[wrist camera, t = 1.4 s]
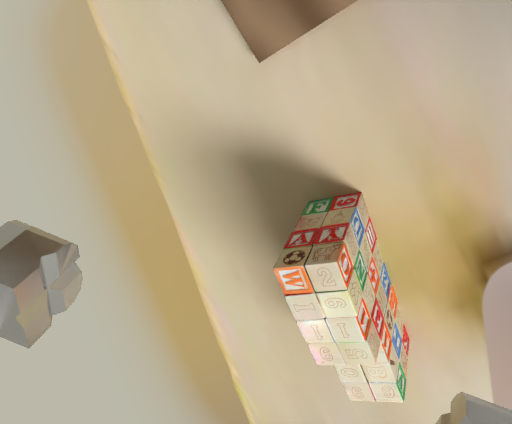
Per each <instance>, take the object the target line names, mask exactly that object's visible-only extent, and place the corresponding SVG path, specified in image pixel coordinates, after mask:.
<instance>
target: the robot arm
mask: <svg viewBox="0 0 512 424" xmlns="http://www.w3.org/2000/svg"><path fill="white" fill-rule="evenodd" d="M79 257H80V255H79V250H78V246H77V245H76V244H74V243H71V242H69V241H67V240H64V239H62V238H59V237H57V236H55V235H52V234H50V233H47V232H45V231H43V230H40V229H38V228H35V227H33V226H30V225H28V224H25V223H23V222H20V221H18V220H13V221H9V222H7V223H5V224H4V225H2V226H1V227H0V337H2V338H5V339H7V340H9V341H12V342H14V343H17V344H20V345H22V346H24V347H27V348H30V347H31V346H32V345H33V344H34V343H35V342H36V341H37V340H38V338H40V337H41V336H42V334H44V333H45V332H46V330H47V329H48V328H49V327H50V326H51V323H52V316H53V315H55V314H58V313H61V312H64V311H66V310H67V309H68V307H69V306H70V305H71V304H72V303H73V302H74V301H75V299H76V297H77V295H78V293H79V291H80V289H81V284H82V272H81V270H80V269H79V267H78V266H77V264H76V263H75V261H76V260H77V259H78V258H79ZM436 424H512V410H509V409H506V408H504V407H501V406H498V405H495V404H493V403H490V402H487V401H485V400H482V399H479V398H477V397H474V396H471V395H469V394H466V393H463V392H461V393H459V394H457V395H456V396H455V397H454V399H453V400H452V401H451V413H448V414H443V415H441V416H440V418H439V420H438V421H437V423H436Z"/></svg>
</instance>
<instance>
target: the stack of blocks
mask: <svg viewBox="0 0 512 424" xmlns="http://www.w3.org/2000/svg"><path fill="white" fill-rule="evenodd" d="M376 240H377V238H376V235H375V232H374V229H373V226H372V223H371V220H370V217H369V213H368V210H367V206H366V203H365V200H364V197H363V194H362V193H361V192H360V193H354V194H349V195H343V196H338V197H334V198H329V199H323V200H317V201H311V202H308V204H307V206H306V208H305V209H304V211H303V213H302V215H301V218H300V220H299V222H298V223H297V225H296V227H295V229H294V232H292V233H291V235H290V237H289V239H288V241H287V242H286V244H285V246H284V249H283V251H282V253H281V255H280V257H279V258H278V260H277V262H276V264H275V266H274V268H273V271H274V273H275V275H276V277H277V279H278V281H279V284H280V286H281V288H282V290H283V292H284V294H285V299H286V301H287V304H288V306H289V307H290V310H291V312H292V314H293V316H294V318H295V319H296V323H297V324H298V327H299V329H300V331H301V333H302V335H303V337H304V339H305V341H306V342H307V343H308V346H309V348H310V350H311V352H312V354H313V357H314V359H315V361H316V363H317V365H334V367H335V369H336V372H337V374H338V376H339V378H340V380H341V382H342V383H343V386H344V388H345V390H346V393H347V395H348V397H349V399H350V400H353V401H372V402H375V401H383V402H404V397H405V389H406V370H407V361H408V358H407V356H408V350H409V337H408V334H407V332H406V329H405V326H404V321H403V317H402V314H401V311H400V308H399V305H398V303H397V299H396V296H395V293H394V289H393V287H392V284H391V283H390V279H389V276H388V273H387V270H386V267H385V264H384V262H383V259H382V255H381V252H380V249H379V246H378V243H377V241H376Z"/></svg>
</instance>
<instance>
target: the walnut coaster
mask: <svg viewBox="0 0 512 424" xmlns="http://www.w3.org/2000/svg"><path fill="white" fill-rule="evenodd" d="M355 1H357V0H222V2H223V4H224V5H225V7H226V9H227V10H228V12H229V14H230V15H231V17H232V19H233V20H234V22H235V24H236V25H237V27H238V29H239V30H240V32H241V34H242V35H243V37H244V39H245V40H246V42H247V44H248V45H249V47H250V49H251V50H252V52H253V54H254V55H255V57H256V59H257V60H258V62H259V63H260V62H261V61H263V60H265V59H266V58H268V57H269V56H271V55H272V54H274V53H275V52H277V51H279V50H280V49H282V48H283V47H285V46H286V45H288V44H290V43H291V42H293V41H294V40H296V39H297V38H299V37H300V36H302V35H304V34H305V33H307V32H308V31H310V30H311V29H313V28H315V27H316V26H318V25H319V24H321V23H322V22H324V21H325V20H327V19H329V18H330V17H332V16H333V15H335V14H336V13H338V12H340V11H341V10H343V9H344V8H346V7H347V6H349V5H350V4H352V3H354V2H355Z"/></svg>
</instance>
